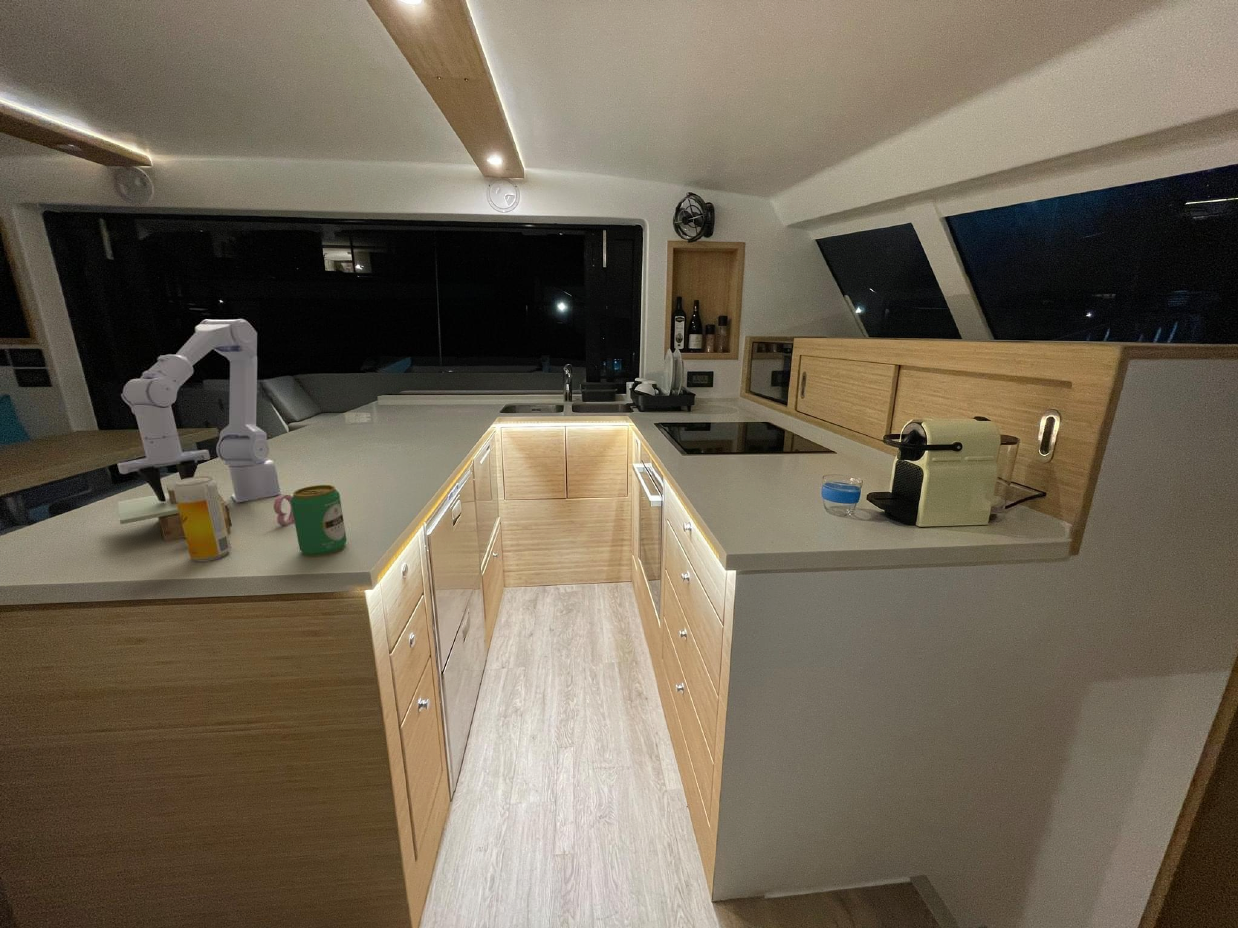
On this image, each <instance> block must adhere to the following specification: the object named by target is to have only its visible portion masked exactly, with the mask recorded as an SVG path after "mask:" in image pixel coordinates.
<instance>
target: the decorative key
mask: <svg viewBox="0 0 1238 928" xmlns="http://www.w3.org/2000/svg"><path fill="white" fill-rule="evenodd" d="M292 497H293V495H289V494H280V495H277V496H276V498H275V500H274V501H273V502H274V503H273V510H274V512H275V513H276V514H277V517H276V518H277V519H276V521H277V523H278V525H280V526H289V525H290V524H292V523H294V522H295V521H294V516H293V511H292V505H291V499H292ZM285 499H286V501H287V502H288V503H289V506H290V510H289V511H290V513H289V514H288V518H287V519H286V520H285V517H286V515H287V512H283V510H282V507H281V506H282V502H283V500H285Z"/></svg>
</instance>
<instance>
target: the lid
mask: <svg viewBox="0 0 1238 928" xmlns="http://www.w3.org/2000/svg"><path fill="white" fill-rule="evenodd" d="M165 485H166V488H167V489H166V490H167V493H166V492H164V495H165V499H166V501H164V502H161V501H159V500H158V498H157V496H156V494H155V495H149V496H144V497H137V498H131V499H126V500H120V501H117V508H118V518H119V522H120V525H124V524H125V525H126V524H129V523H130V524H131V523H134V522H142V521H145V520H151V519H155V518H158V517H162V516H167V515H172V514H177V513H179V510H178V506H177V502H176V498H175V494H174V490H173V489H174V487H175V483H171V484H165Z"/></svg>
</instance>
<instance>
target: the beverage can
mask: <svg viewBox="0 0 1238 928" xmlns="http://www.w3.org/2000/svg"><path fill="white" fill-rule="evenodd" d="M340 496H341V495H340V492H339V491H338V490H337V489H336V487H335V486H333V485H330V484H329V485H328V484H320V485H319V484H318V485H311V486H305V487H302V488H299V489H296V490H294V492H293V494H292V499H291V505H292V511H293V516H294V521H293V522H294V526H295V531H296V537H297V543H298V548H299V551H301V552H302V553H303V555H304V556H306V557H312V558H313V557H324V556H329V555H333V554H335V553H337V552H339V551H341V550H343V549H344V548H345V545H346V543H347V539H348V538H347V534H346V527H345V522H344V515H343V509H342V508H343V507H342V502H341V497H340Z"/></svg>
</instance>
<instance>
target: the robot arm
mask: <svg viewBox="0 0 1238 928" xmlns="http://www.w3.org/2000/svg"><path fill="white" fill-rule="evenodd" d="M257 346H258V332H257V331H256V330H255V328H254V327H253V326H252V325H251V323H250V322H248V320H246V319H243V318H238V319H203V320H202V321H201V322H200V323H199V324H197V325H196V326H195V327H194V333H193V335H191V337H190V338H188V340H187V341H186V342H185V343H184V345H182V347H181V348H180V349H179V350H178V351H177V352H176V354H171V353H170V354H165V355H160V356H158V357H157V358H156V359H157V362H156V363H154V364H153V365H152V366H151V367H150V368H149V369H148V370H145V371H143V372H142V374H141V376H140V378H133V379H130V380H129V381H127V382H126V384H125V385H124V386H123V389H122V393H121V394H120V396H121V398H122V400H123V402H125V403H126V404H127V405H128V406H129V408H130V409H131V413H132V414H134V415H135V419H136V422H137V426H138V431H139V433H140V437H141V443H142V446H143V449H144V454H145V457H143V458H139V459H134V460H133V459H132V460H129V461H124V462H120V463H119V462H118V463H117V467H118V471H119V474H122V475H125V474H129V473H132V472H137V473H138V474H139V476H141V477H142V479H144V480H145V482H146V483H147V484H148V485H149V486H150V487H151V489H152V491H153V492H154V494H155V495H156V496H157V498H158V500H159V501H161V502H164V501H166V499H165V495H164V494H165V492H164V489H163V485H162V481H161V474H160V473H161V472H159V471H158V469H156V468H161V467H162V468H163V467H166V466H167V467H168V466H173V465H174V466H175V465H176V469H177V472H178V474H179V477H180V480H182V479H186V478H192V477H195V474H196V471H197V469H198V463H197V461H203V460H204V461H206V460H210V459H211V456H210V452H209V450H208V449H201V450H192V451H184V452H183V451H182V445H181V442H180V439H179V438H180V437H179V433H178V430H177V426H176V422H175V416H174V412H173V409H172V408H173V407H172V405H173V404H174V403H175V402H176V400H177V397H178V391H179V390H180V387H181V386H183V384H184V383H186V381H188V379H189V378H191V376H192V375H193V374H194V372H195V371H194V367H193V366H194V365H195V364H196V363H198V361H201V359H202V358H204V357H205V356H206V355H208V353H210V352H211V351H212V350H214V351H215V352H217V353H218V354H219V355H221V356H224V357H225V358H227V360H228V361H229V405H228V406H229V407H228V408H229V413H228V414H229V415H228V419H229V420H228V425H226V427H224V428H223V429H222V430H220V432H219V439H218V442H217V443H216V448H215V449H216V455H217V456H218V458H219V459H220V460H221V461H223V462H224V465H226V466H228V469H229V474H230V480H231V483H232V488H233V493H232V494H231V495H230V496H231V498H232V499H233V500H234V501H235V503H236V504H237V503H238V504H239V503H244V502H249V501H254V500H258V499H259V500H260V499H264V498H269V497H273V496H279V495H282V493H281V488H280V484H279V483H280V482H279V479H278V478H279V477H278V473H277V468H276V464H275V462H274V461H273V460H272V459H267V458H268V457H269V454H270V445H269V442H268V438H267V437H268V436H267V432H265V431H264V430H263V429H261V428H260V427H258V426H257V395H258V394H257V391H258V390H257V389H258V386H257V384H258V383H257V382H258V356H257V354H258V351H257V349H258V347H257Z"/></svg>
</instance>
